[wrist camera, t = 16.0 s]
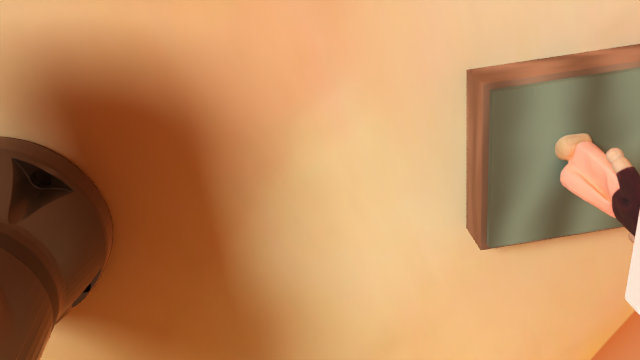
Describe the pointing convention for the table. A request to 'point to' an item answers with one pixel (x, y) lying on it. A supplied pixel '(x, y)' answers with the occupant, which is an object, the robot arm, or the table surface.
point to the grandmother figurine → (601, 178)
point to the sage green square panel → (544, 141)
